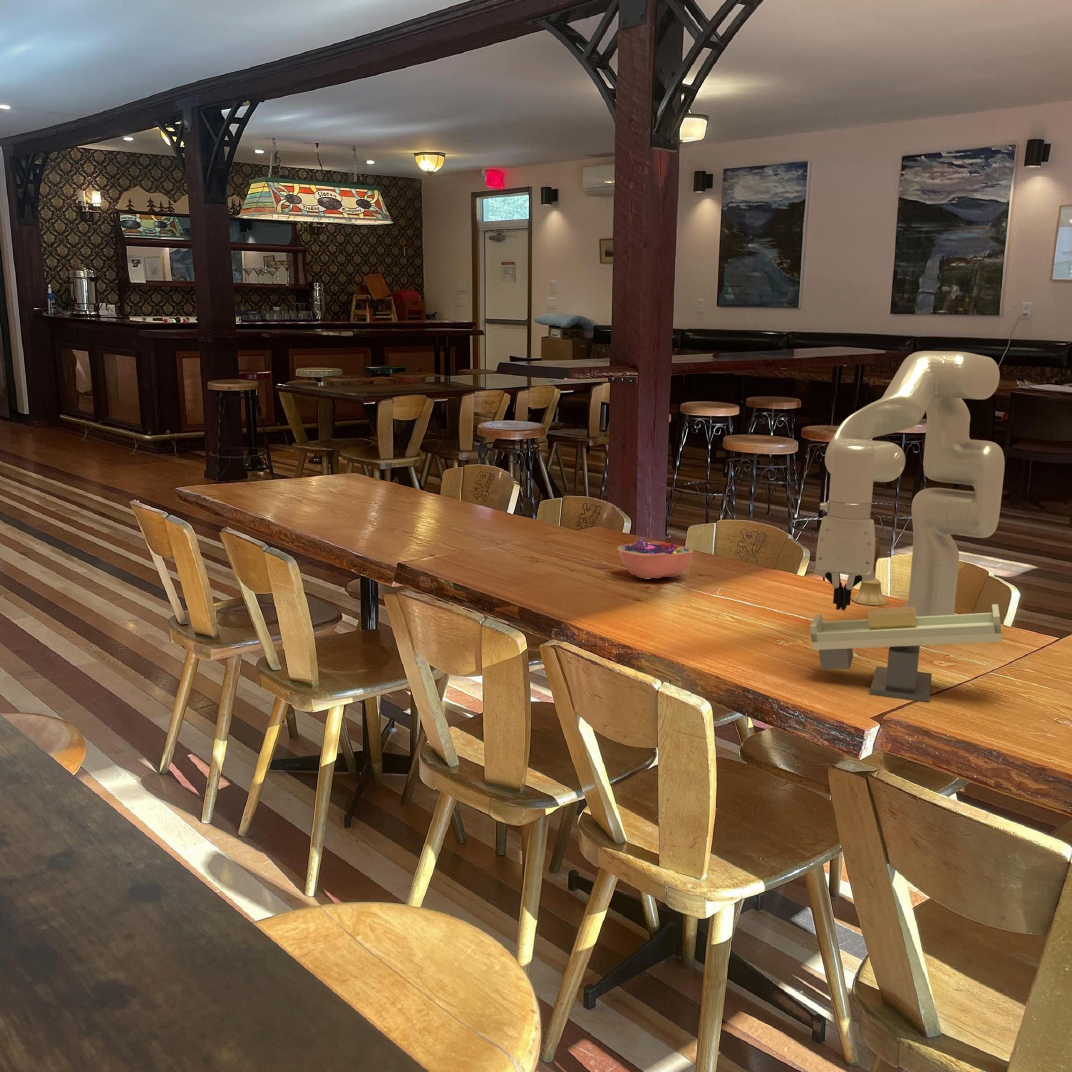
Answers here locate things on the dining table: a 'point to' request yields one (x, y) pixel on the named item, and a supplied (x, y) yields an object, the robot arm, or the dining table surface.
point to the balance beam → (900, 635)
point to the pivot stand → (902, 676)
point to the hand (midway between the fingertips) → (841, 608)
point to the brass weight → (892, 618)
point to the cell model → (655, 558)
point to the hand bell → (871, 587)
